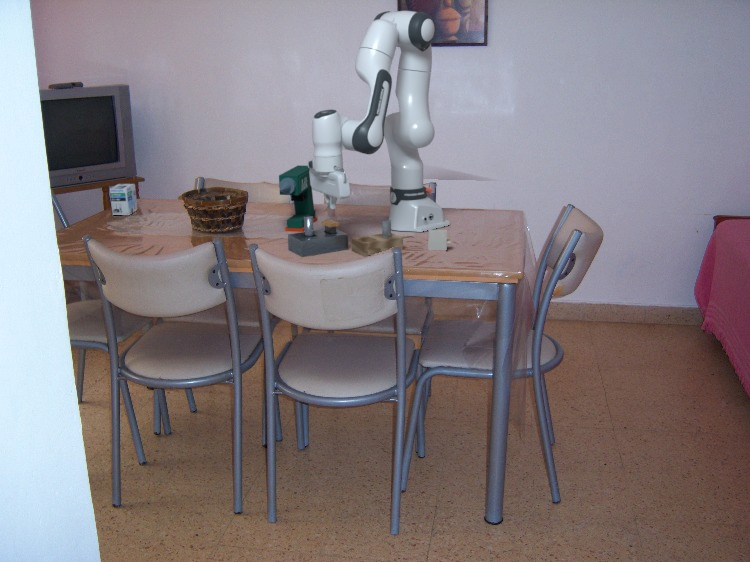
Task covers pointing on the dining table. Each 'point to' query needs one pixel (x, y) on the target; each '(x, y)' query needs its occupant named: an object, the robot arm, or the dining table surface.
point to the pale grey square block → (438, 240)
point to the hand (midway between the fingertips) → (331, 208)
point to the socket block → (317, 243)
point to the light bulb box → (123, 199)
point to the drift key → (330, 226)
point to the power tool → (298, 196)
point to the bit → (308, 226)
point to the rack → (376, 241)
